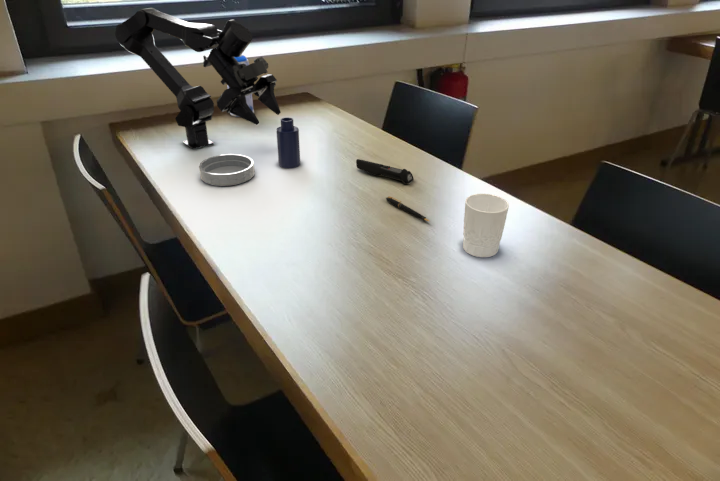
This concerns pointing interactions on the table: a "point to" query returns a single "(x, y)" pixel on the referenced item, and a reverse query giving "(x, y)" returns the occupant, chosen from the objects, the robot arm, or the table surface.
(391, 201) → the fountain pen
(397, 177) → the electric trimmer
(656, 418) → the table surface
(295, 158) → the dark blue vase
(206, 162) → the steel dish
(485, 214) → the white cup
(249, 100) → the aerosol can
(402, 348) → the table surface
